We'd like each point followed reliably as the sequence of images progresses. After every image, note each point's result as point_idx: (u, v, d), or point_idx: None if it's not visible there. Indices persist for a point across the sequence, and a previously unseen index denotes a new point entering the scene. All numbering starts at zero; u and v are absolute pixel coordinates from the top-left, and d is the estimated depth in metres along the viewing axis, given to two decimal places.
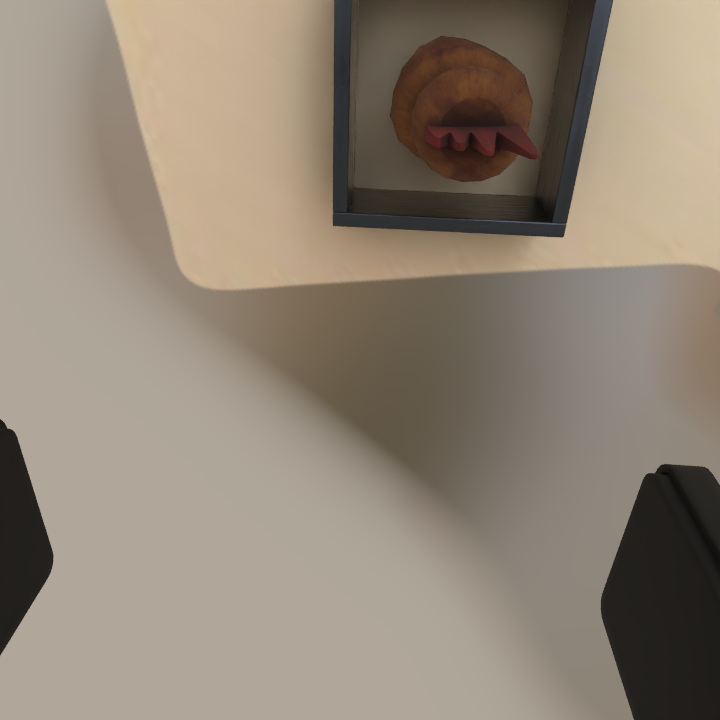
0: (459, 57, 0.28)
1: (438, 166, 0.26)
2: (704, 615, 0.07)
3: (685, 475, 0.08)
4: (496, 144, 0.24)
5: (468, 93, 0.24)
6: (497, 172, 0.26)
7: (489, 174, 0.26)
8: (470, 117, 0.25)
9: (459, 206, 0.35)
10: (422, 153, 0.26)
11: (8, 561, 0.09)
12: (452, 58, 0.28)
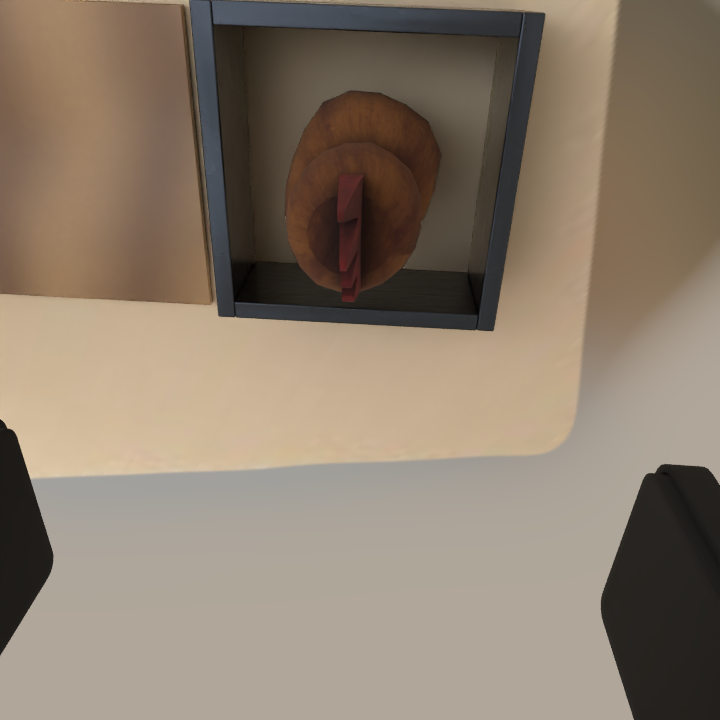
0: None
1: (393, 270, 0.20)
2: (704, 615, 0.07)
3: (685, 475, 0.08)
4: (355, 218, 0.18)
5: (303, 243, 0.20)
6: (403, 193, 0.19)
7: (405, 205, 0.19)
8: (329, 240, 0.20)
9: (492, 161, 0.26)
10: None
11: (8, 561, 0.09)
12: None
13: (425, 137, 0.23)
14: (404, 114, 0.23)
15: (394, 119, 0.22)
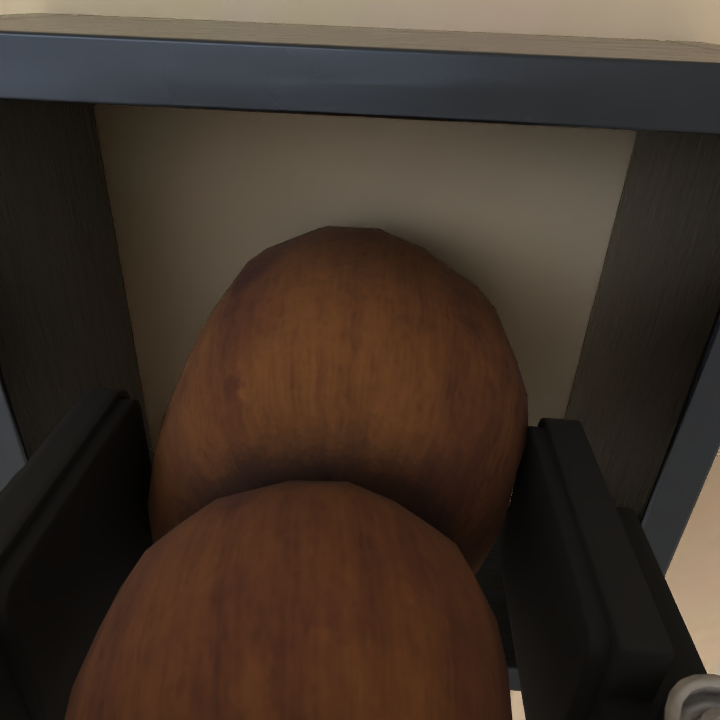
0: None
1: None
2: (552, 543, 0.08)
3: (556, 426, 0.09)
4: None
5: None
6: None
7: None
8: None
9: (629, 377, 0.12)
10: None
11: (133, 523, 0.10)
12: None
13: (500, 396, 0.08)
14: (445, 341, 0.08)
15: (419, 368, 0.08)
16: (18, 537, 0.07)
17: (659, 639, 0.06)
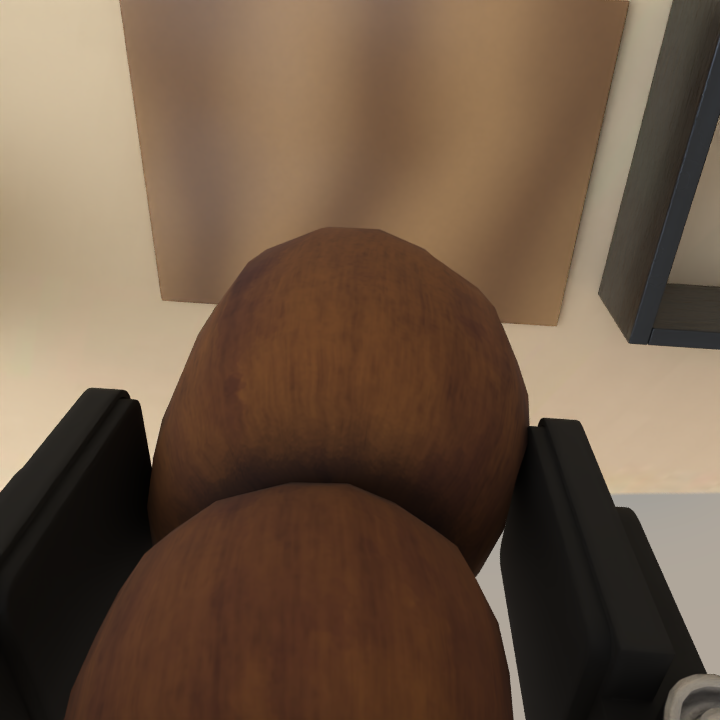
0: None
1: None
2: (552, 543, 0.08)
3: (556, 426, 0.09)
4: None
5: None
6: None
7: None
8: None
9: None
10: None
11: (133, 523, 0.10)
12: None
13: (503, 398, 0.08)
14: (447, 342, 0.08)
15: (420, 369, 0.08)
16: (18, 537, 0.07)
17: (659, 639, 0.06)
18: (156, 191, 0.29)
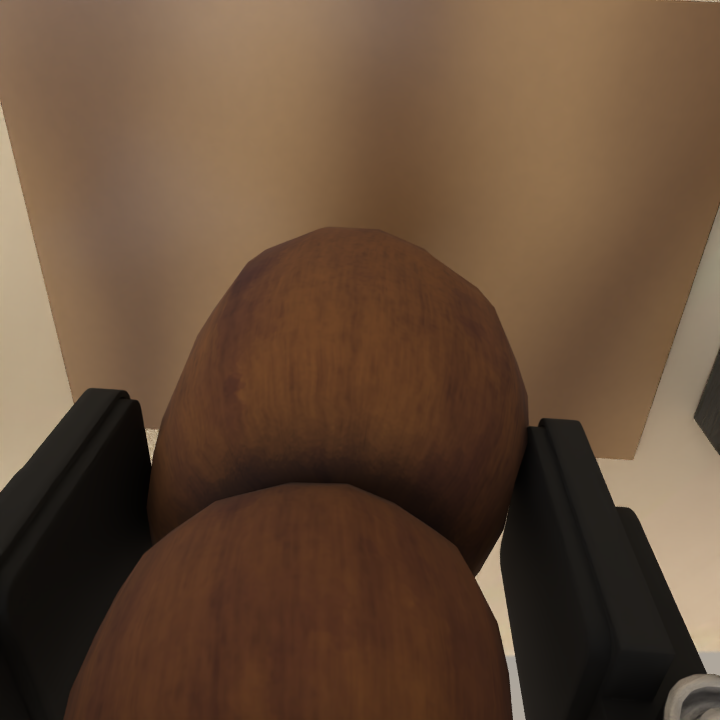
0: None
1: None
2: (552, 543, 0.08)
3: (556, 426, 0.09)
4: None
5: None
6: None
7: None
8: None
9: None
10: None
11: (132, 523, 0.10)
12: None
13: (502, 398, 0.08)
14: (446, 342, 0.08)
15: (419, 369, 0.08)
16: (18, 537, 0.07)
17: (659, 639, 0.06)
18: (59, 282, 0.20)
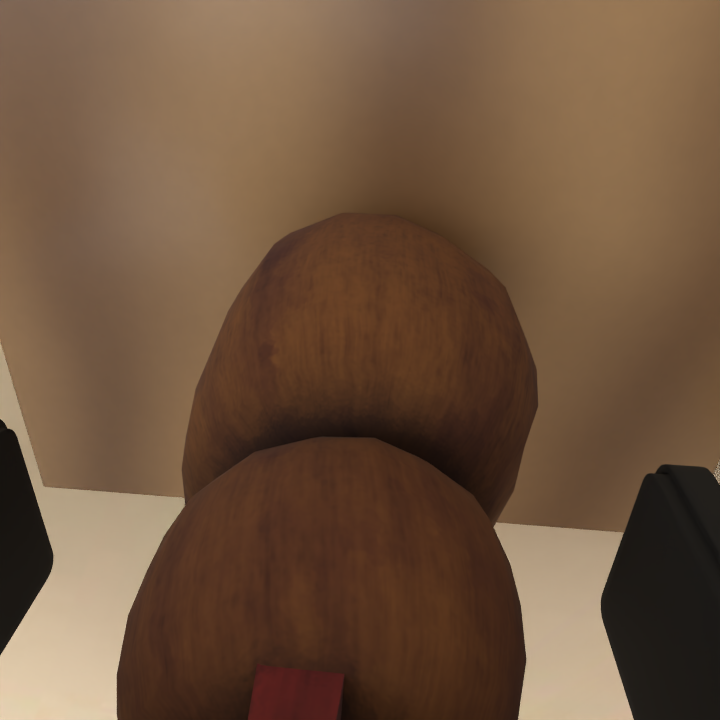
0: None
1: None
2: (704, 615, 0.07)
3: (685, 475, 0.08)
4: None
5: None
6: (484, 696, 0.06)
7: None
8: None
9: None
10: None
11: (8, 561, 0.09)
12: None
13: (513, 366, 0.09)
14: (462, 313, 0.09)
15: (438, 337, 0.08)
16: None
17: None
18: (14, 331, 0.17)
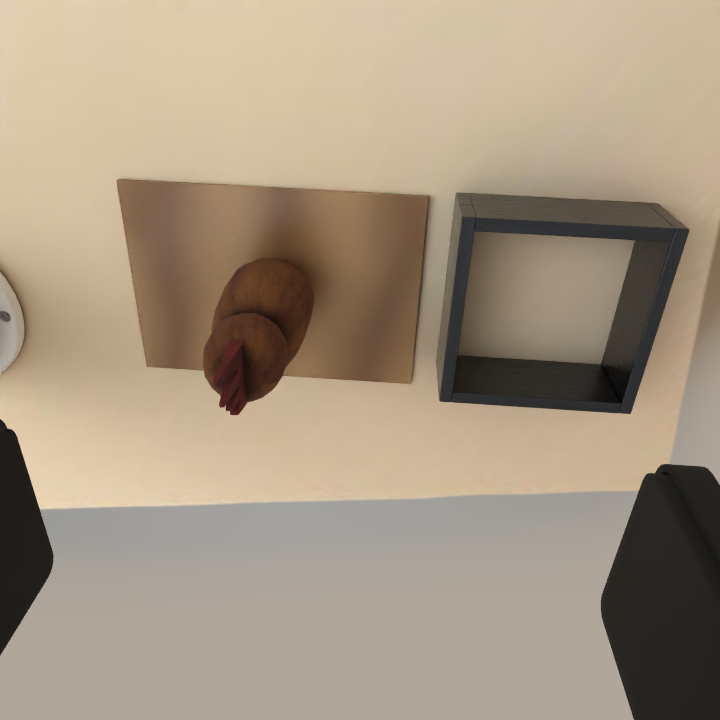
0: None
1: (267, 391, 0.34)
2: (704, 615, 0.07)
3: (685, 475, 0.08)
4: (235, 369, 0.32)
5: (211, 377, 0.33)
6: (268, 350, 0.33)
7: (269, 357, 0.33)
8: None
9: (636, 303, 0.39)
10: (261, 397, 0.35)
11: (8, 561, 0.09)
12: None
13: (295, 300, 0.36)
14: (281, 287, 0.36)
15: (273, 292, 0.36)
16: None
17: None
18: (142, 299, 0.44)
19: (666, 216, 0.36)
